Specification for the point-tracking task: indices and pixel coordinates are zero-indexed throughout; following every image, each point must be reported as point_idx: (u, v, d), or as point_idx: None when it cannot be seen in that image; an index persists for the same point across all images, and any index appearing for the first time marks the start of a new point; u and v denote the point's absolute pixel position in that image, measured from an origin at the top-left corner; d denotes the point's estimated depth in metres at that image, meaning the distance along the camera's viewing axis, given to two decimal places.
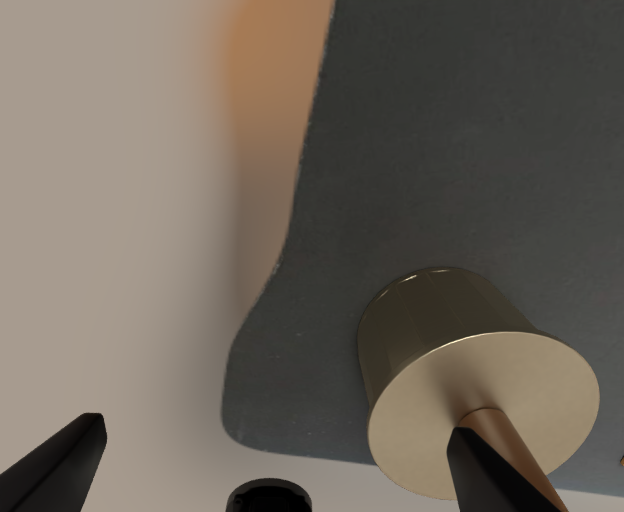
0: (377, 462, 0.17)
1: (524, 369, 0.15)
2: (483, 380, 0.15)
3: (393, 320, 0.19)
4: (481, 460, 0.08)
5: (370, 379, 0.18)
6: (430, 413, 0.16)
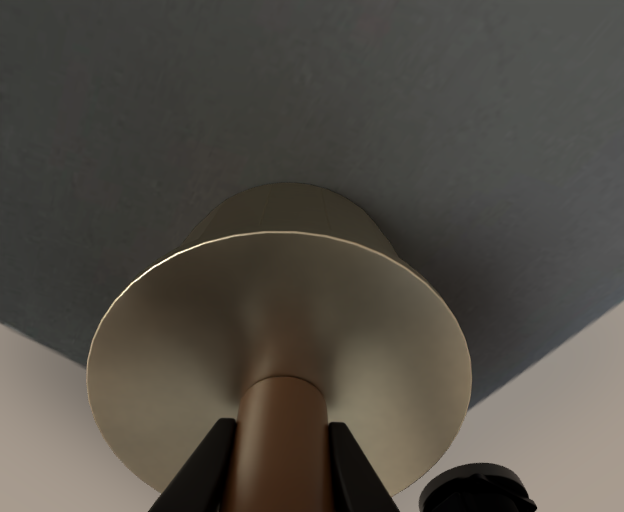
0: None
1: (186, 330, 0.09)
2: (181, 384, 0.10)
3: None
4: (340, 456, 0.08)
5: None
6: None
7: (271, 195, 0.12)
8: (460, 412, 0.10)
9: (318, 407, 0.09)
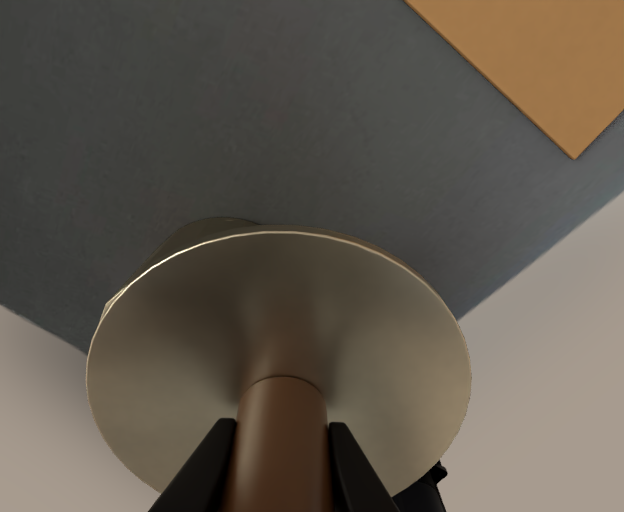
0: None
1: (185, 330, 0.09)
2: (181, 384, 0.10)
3: None
4: (340, 456, 0.08)
5: None
6: None
7: (205, 229, 0.18)
8: (459, 412, 0.10)
9: (317, 407, 0.09)
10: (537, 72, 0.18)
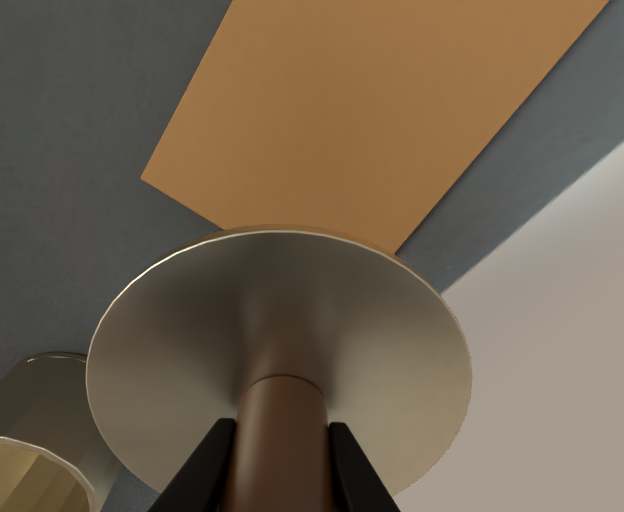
0: None
1: (186, 330, 0.09)
2: (181, 384, 0.10)
3: None
4: (340, 456, 0.08)
5: None
6: None
7: (25, 375, 0.22)
8: (460, 412, 0.10)
9: (318, 407, 0.09)
10: None
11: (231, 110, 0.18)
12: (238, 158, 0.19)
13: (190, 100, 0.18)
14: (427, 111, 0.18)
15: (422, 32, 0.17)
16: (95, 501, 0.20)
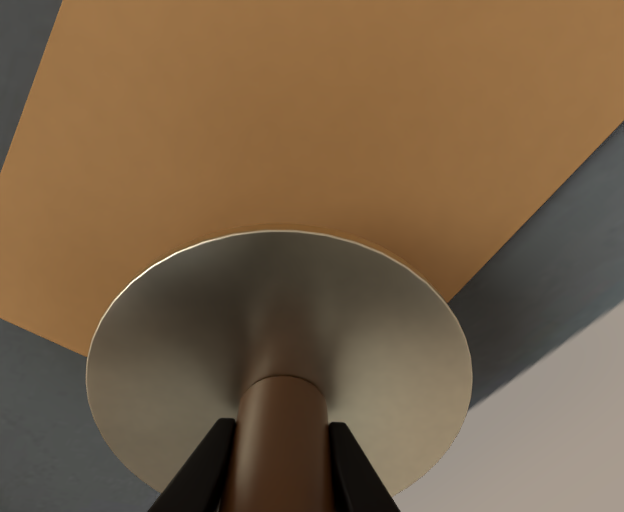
0: None
1: (186, 329, 0.09)
2: (181, 384, 0.10)
3: None
4: (340, 456, 0.08)
5: None
6: None
7: None
8: (461, 412, 0.10)
9: (318, 407, 0.09)
10: None
11: (84, 198, 0.11)
12: (108, 267, 0.12)
13: (13, 184, 0.11)
14: (409, 196, 0.11)
15: (397, 71, 0.10)
16: None
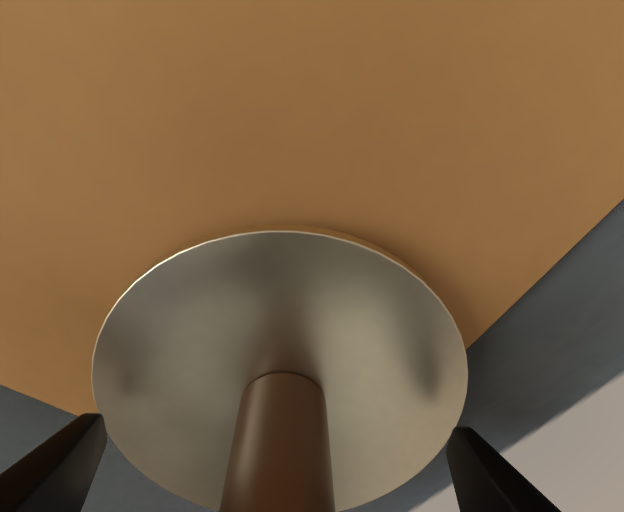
0: None
1: (189, 327, 0.09)
2: (184, 380, 0.10)
3: None
4: (481, 460, 0.08)
5: None
6: (215, 449, 0.11)
7: None
8: (457, 408, 0.11)
9: (317, 402, 0.09)
10: None
11: (40, 225, 0.09)
12: (72, 305, 0.10)
13: None
14: (430, 221, 0.09)
15: (419, 72, 0.08)
16: None
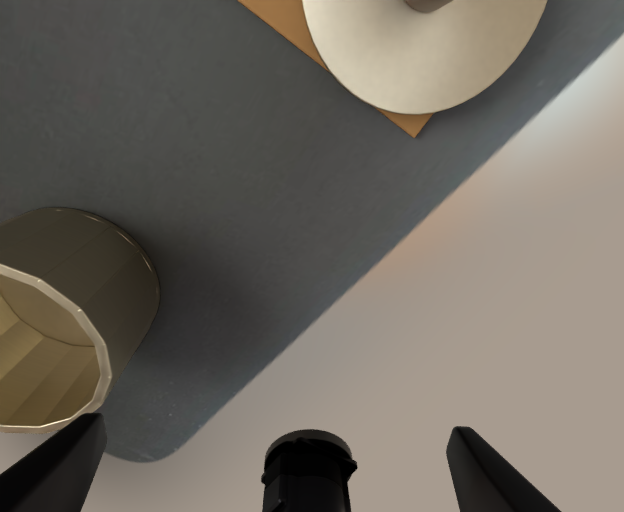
0: (405, 112, 0.17)
1: None
2: None
3: None
4: (481, 460, 0.08)
5: None
6: (375, 26, 0.15)
7: (16, 220, 0.18)
8: None
9: None
10: None
11: None
12: None
13: None
14: None
15: None
16: (106, 362, 0.16)
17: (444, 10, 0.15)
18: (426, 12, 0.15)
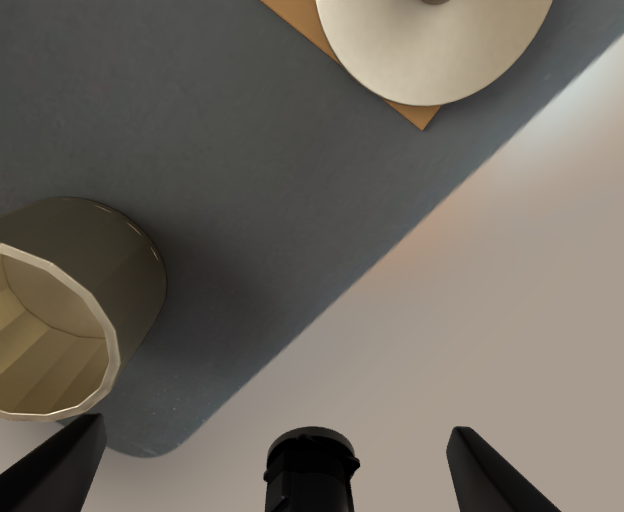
0: (413, 103, 0.17)
1: None
2: None
3: None
4: (481, 460, 0.08)
5: None
6: (385, 18, 0.16)
7: (26, 207, 0.18)
8: None
9: None
10: None
11: None
12: None
13: None
14: None
15: None
16: (115, 349, 0.16)
17: (453, 3, 0.16)
18: (436, 4, 0.15)
